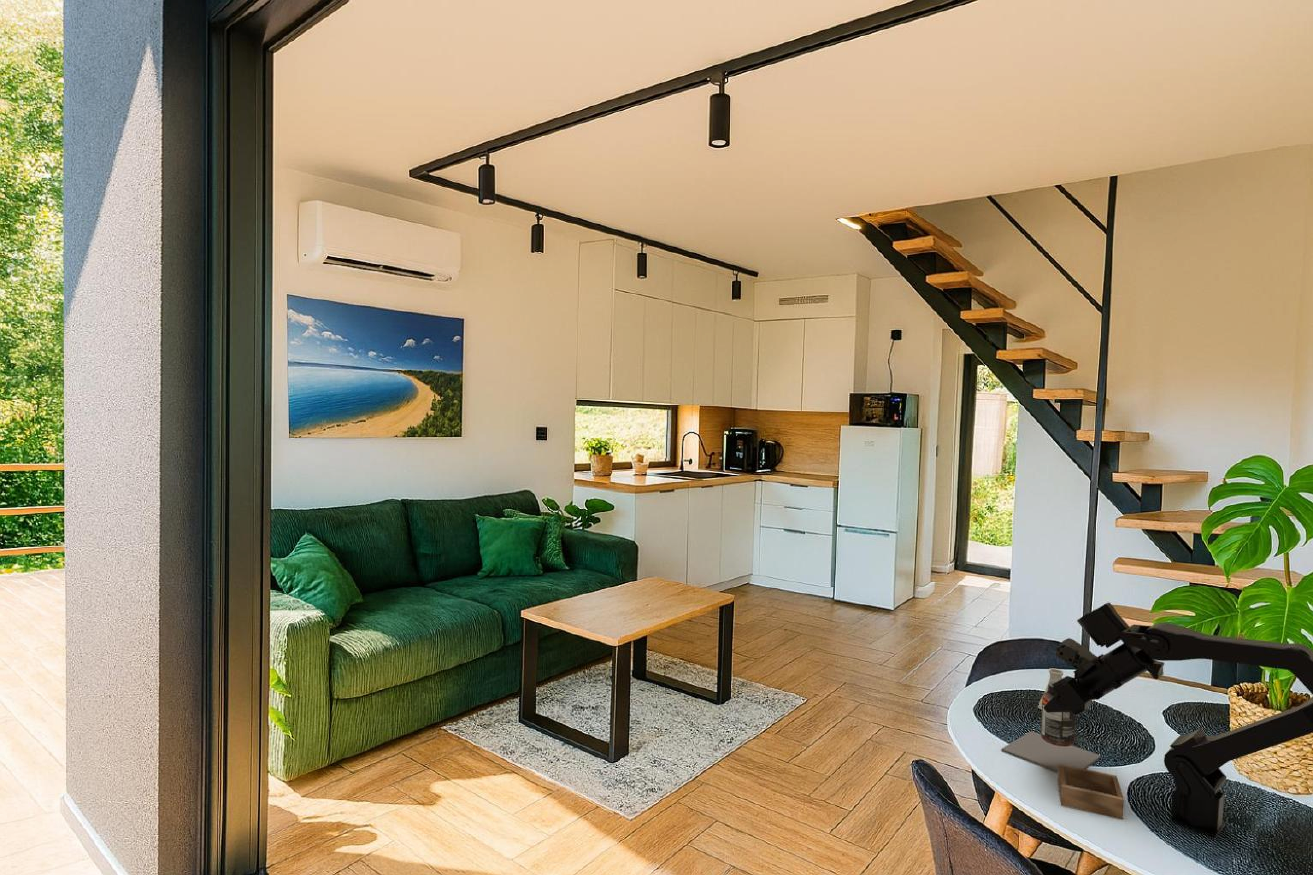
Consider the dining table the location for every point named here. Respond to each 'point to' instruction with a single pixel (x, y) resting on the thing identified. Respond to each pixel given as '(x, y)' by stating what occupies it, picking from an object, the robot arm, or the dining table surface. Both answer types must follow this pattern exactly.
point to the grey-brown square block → (1049, 753)
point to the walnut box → (1090, 799)
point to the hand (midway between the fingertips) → (1051, 705)
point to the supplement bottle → (1057, 723)
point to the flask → (1052, 680)
